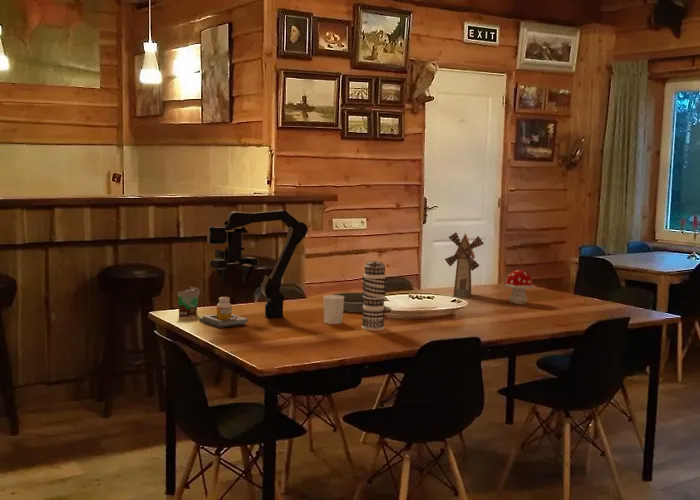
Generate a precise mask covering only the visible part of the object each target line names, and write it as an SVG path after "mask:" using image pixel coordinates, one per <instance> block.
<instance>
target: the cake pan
mask: <svg viewBox="0 0 700 500" xmlns="http://www.w3.org/2000/svg"><path fill="white" fill-rule="evenodd" d="M362 293H363V292H338V293H333V294H331V295H339V296H343V297H344V307H343V312H350V313H364V312H363V311H362V309H363V304H364V297H363V294H362ZM386 300H387V298H386V297H385V298H384V302H386Z"/></svg>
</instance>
